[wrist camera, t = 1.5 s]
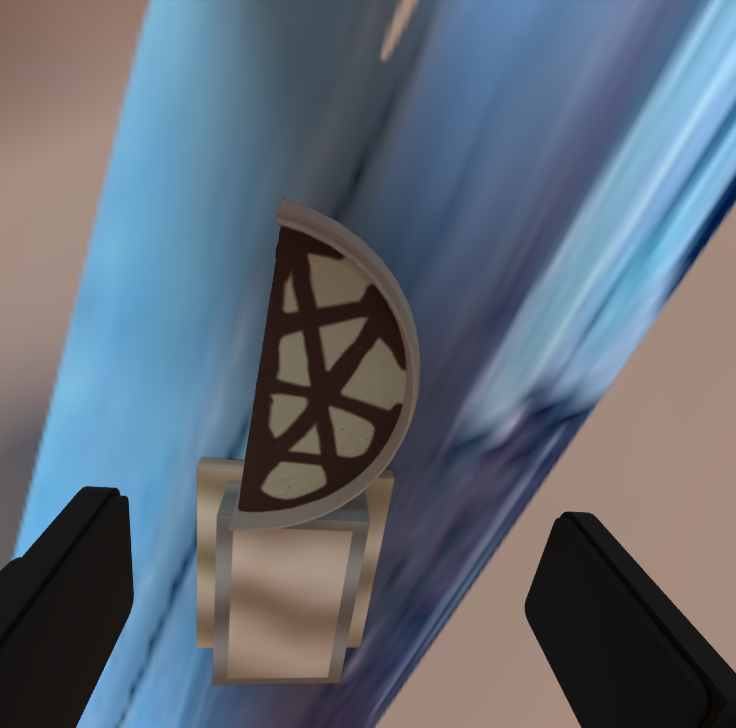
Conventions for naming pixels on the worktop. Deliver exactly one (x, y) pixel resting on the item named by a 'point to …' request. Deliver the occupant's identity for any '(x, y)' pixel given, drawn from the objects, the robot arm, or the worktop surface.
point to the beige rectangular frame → (283, 583)
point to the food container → (326, 376)
